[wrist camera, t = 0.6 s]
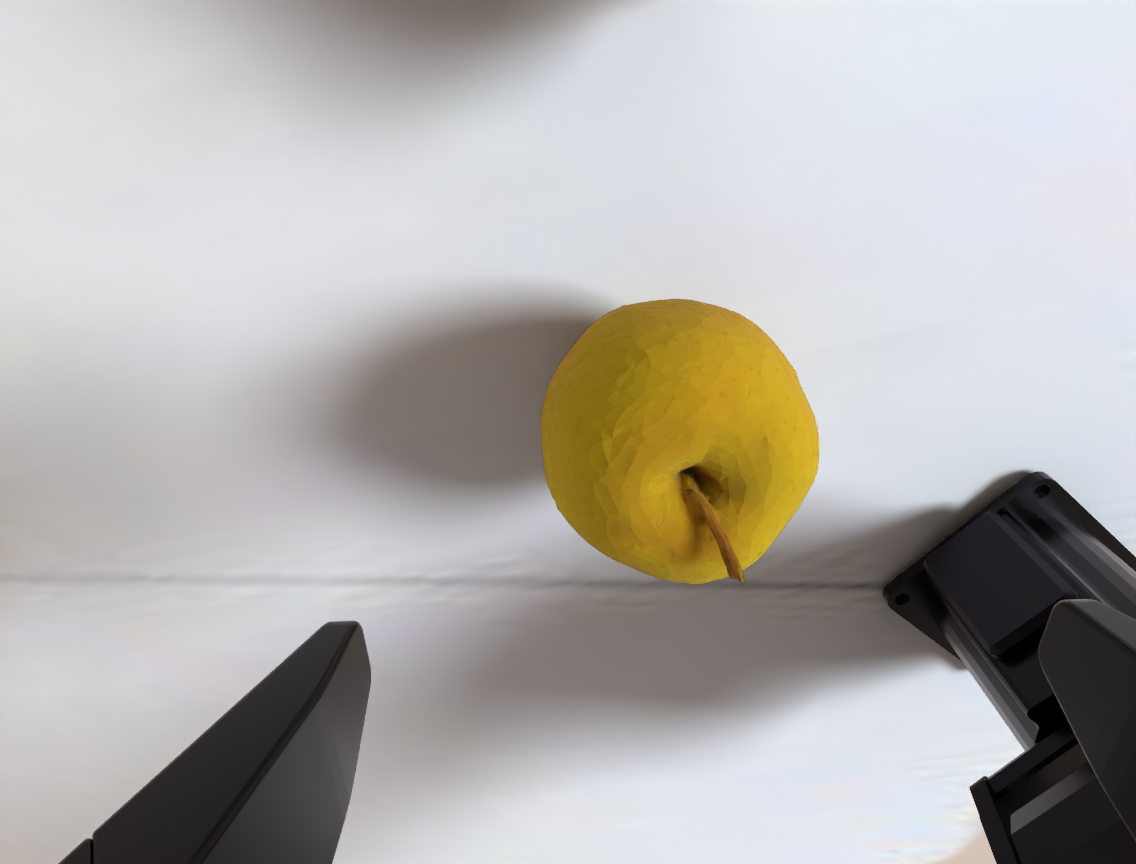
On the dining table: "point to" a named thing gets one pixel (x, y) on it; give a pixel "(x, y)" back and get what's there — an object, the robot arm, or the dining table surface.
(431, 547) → the dining table surface
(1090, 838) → the robot arm
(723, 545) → the apple
